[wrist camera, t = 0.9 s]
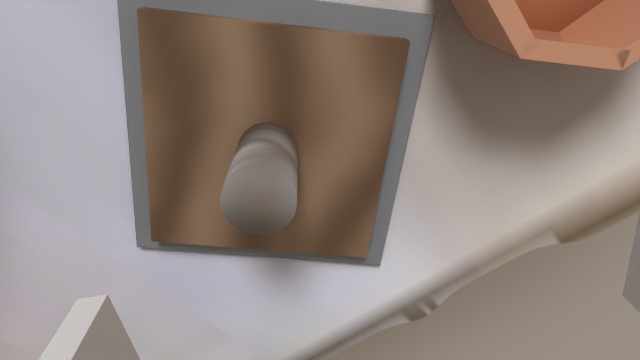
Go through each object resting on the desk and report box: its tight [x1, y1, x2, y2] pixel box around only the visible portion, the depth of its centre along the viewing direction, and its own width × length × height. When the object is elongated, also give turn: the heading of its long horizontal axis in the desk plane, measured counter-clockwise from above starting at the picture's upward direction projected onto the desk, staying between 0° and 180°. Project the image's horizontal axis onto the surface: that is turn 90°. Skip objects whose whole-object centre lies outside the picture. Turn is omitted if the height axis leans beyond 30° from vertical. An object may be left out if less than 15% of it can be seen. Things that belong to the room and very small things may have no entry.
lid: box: [137, 7, 410, 258], centre depth 27 cm, size 16×16×8 cm
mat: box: [117, 0, 435, 265], centre depth 30 cm, size 19×19×1 cm
